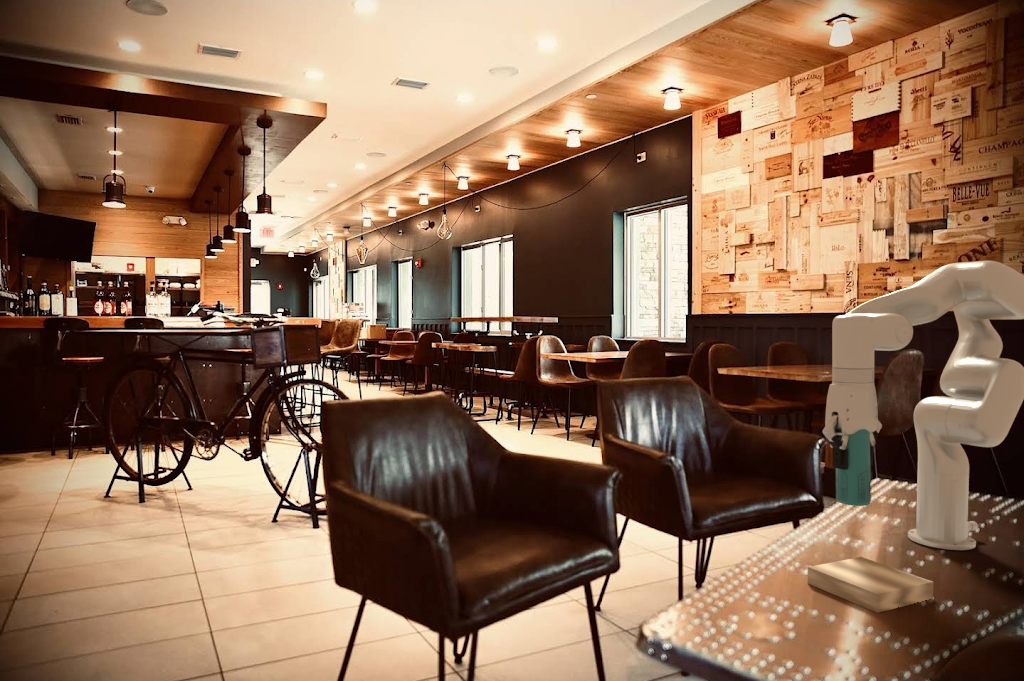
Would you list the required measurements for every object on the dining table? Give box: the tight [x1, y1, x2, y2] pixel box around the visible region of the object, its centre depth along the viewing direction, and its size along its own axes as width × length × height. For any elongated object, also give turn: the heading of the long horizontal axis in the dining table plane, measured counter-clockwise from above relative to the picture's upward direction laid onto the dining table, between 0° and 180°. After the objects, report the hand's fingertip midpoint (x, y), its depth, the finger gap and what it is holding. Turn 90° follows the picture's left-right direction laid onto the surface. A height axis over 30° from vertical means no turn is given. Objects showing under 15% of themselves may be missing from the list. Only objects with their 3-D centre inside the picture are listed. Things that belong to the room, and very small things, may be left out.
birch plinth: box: [807, 556, 934, 613], centre depth 123 cm, size 14×14×3 cm
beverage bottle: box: [834, 429, 873, 507], centre depth 139 cm, size 6×7×20 cm
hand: (852, 465), depth 139 cm, fingers closed on beverage bottle, 6 cm apart
